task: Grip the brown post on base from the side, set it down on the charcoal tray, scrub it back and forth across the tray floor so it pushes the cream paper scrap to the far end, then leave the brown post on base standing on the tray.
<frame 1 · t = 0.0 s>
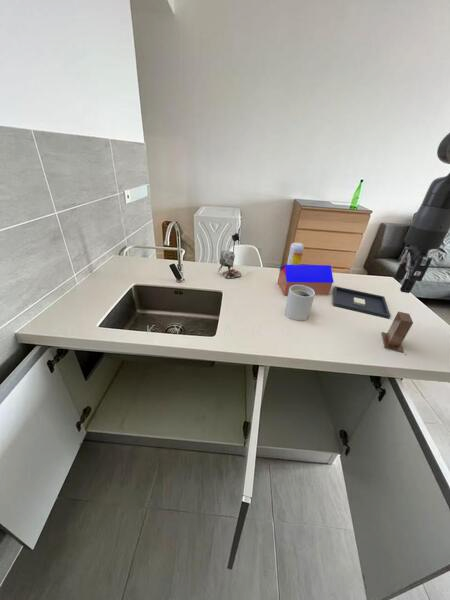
hand: (401, 285, 67), 22 cm above the worktop, tool pointing down, fingers open, 8 cm apart
white capped yellow bottle: (291, 273, 122), on the worktop
brown post on base: (389, 345, 78), on the worktop
mug: (297, 313, 92), on the worktop
tray: (358, 303, 99), on the worktop
blue-topped block: (301, 289, 108), on the worktop
bird figurine: (229, 275, 117), on the worktop
paper scrap: (358, 302, 99), point 1 cm above the worktop, touching tray
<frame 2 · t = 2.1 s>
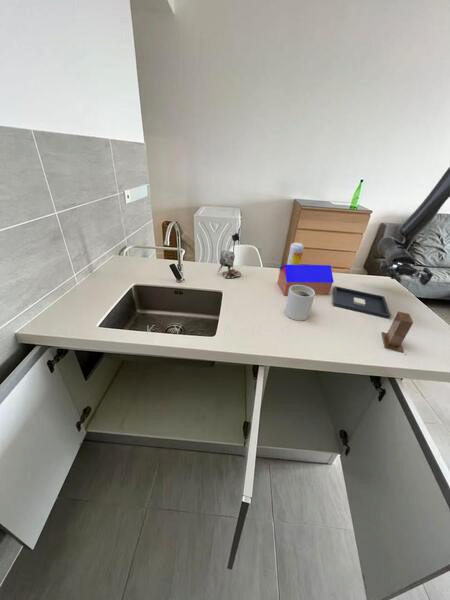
hand: (409, 279, 76), 19 cm above the worktop, tool horizontal, fingers open, 8 cm apart
nothing on the worktop moved.
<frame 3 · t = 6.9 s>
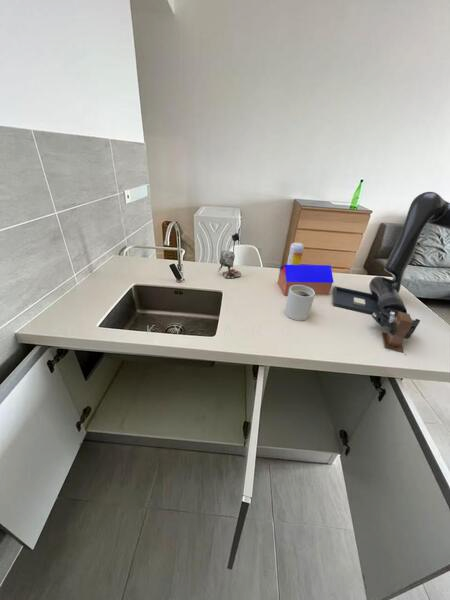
hand: (400, 334, 72), 7 cm above the worktop, tool horizontal, fingers closed on brown post on base, 3 cm apart
brown post on base: (389, 345, 78), on the worktop, touching gripper
everything else where it was.
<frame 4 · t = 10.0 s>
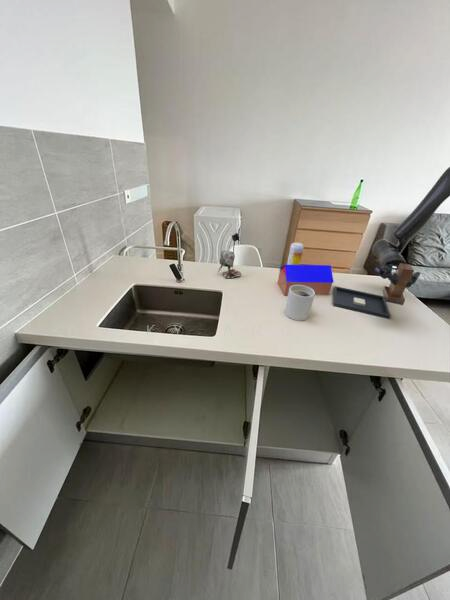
hand: (402, 283, 76), 18 cm above the worktop, tool horizontal, fingers closed on brown post on base, 3 cm apart
brown post on base: (391, 297, 82), point 11 cm above the worktop, touching gripper
everything else where it was.
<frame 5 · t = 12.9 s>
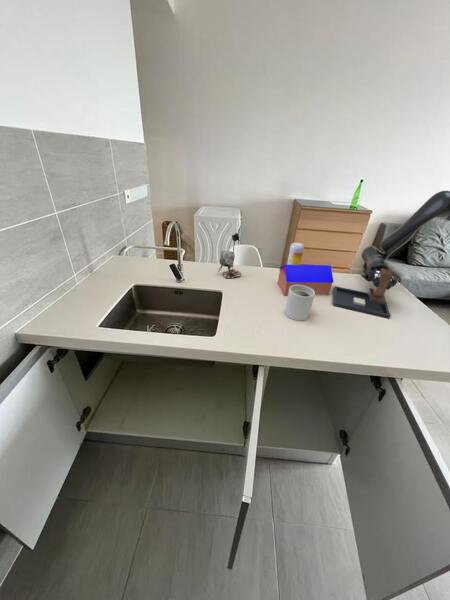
hand: (383, 286, 90), 11 cm above the worktop, tool horizontal, fingers closed on brown post on base, 3 cm apart
brown post on base: (375, 298, 96), point 4 cm above the worktop, touching gripper
everything else where it was.
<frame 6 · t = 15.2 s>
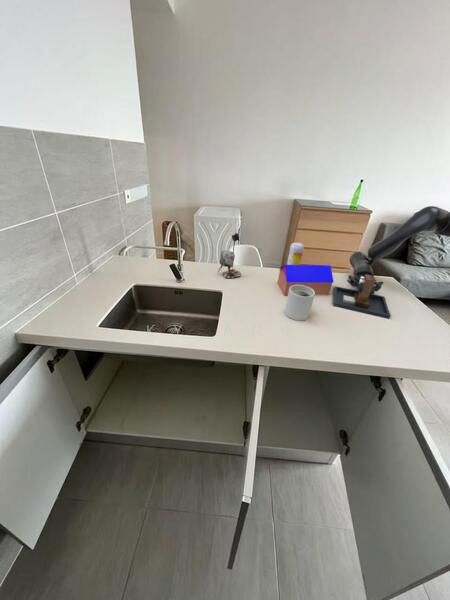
hand: (366, 291, 93), 7 cm above the worktop, tool horizontal, fingers closed on brown post on base, 3 cm apart
brown post on base: (360, 302, 99), point 1 cm above the worktop, touching gripper
paper scrap: (348, 300, 100), point 1 cm above the worktop
everything else where it was.
when the fingers open (7 cm above the worktop, at t = 19.2 s): brown post on base stays where it is, resting on tray.
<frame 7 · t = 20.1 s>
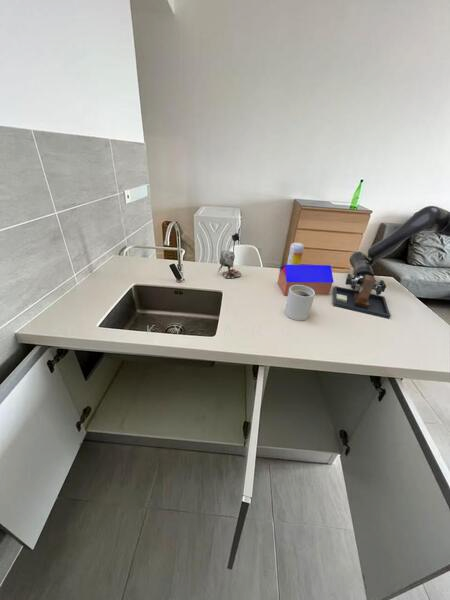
hand: (366, 290, 94), 7 cm above the worktop, tool horizontal, fingers open, 8 cm apart
brown post on base: (360, 303, 99), point 1 cm above the worktop, touching tray
paper scrap: (341, 298, 101), point 1 cm above the worktop, touching tray
everything else where it was.
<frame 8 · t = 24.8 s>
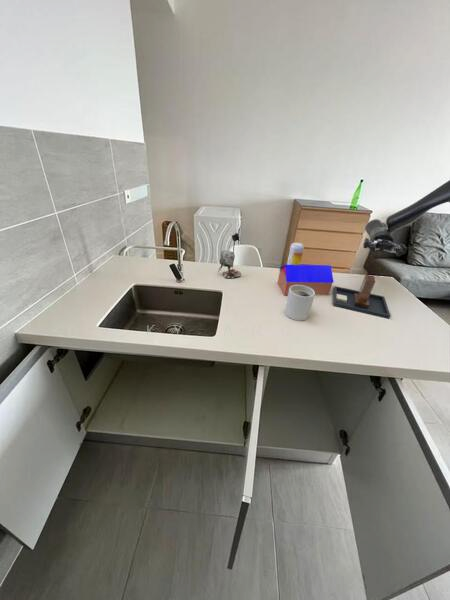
hand: (386, 251, 90), 22 cm above the worktop, tool horizontal, fingers open, 8 cm apart
nothing on the worktop moved.
at the end: brown post on base inside the target area in the tray (0.5 cm from its centre), point 0.6 cm above the tray's base; brown post on base tilted 0°; paper scrap moved 6.8 cm from its start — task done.
